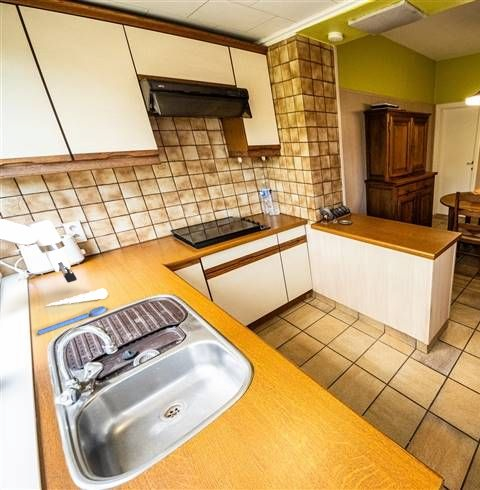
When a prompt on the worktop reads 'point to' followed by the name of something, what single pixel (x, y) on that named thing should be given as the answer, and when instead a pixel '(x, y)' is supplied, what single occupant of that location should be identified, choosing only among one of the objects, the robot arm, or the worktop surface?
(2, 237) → the robot arm
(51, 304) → the unicorn horn
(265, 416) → the worktop surface
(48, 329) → the blue spoon
